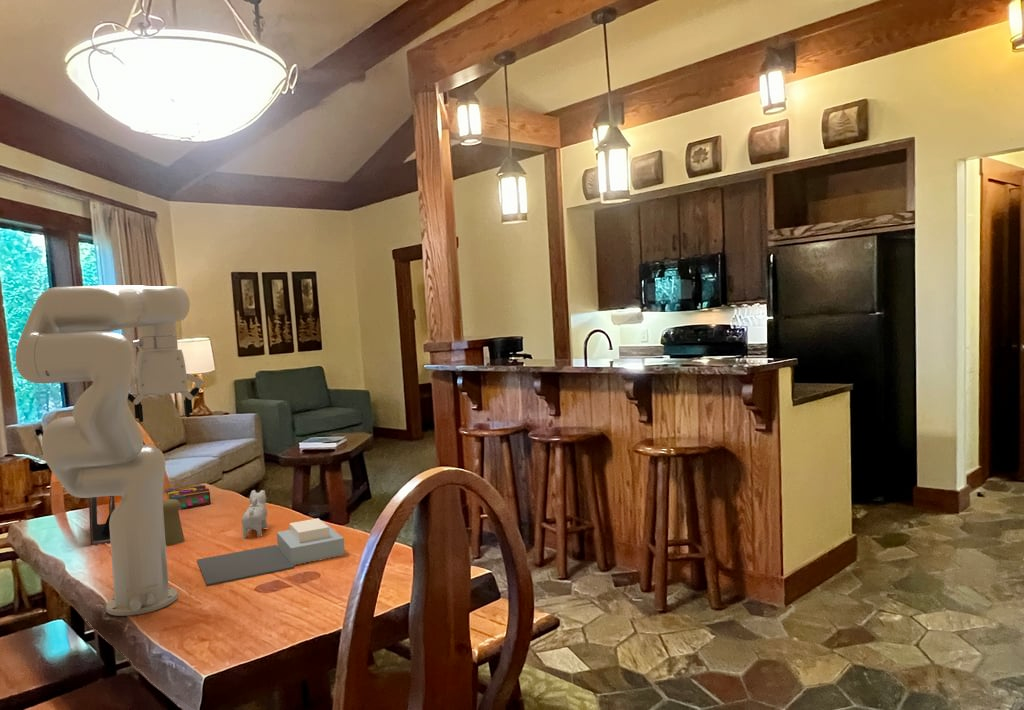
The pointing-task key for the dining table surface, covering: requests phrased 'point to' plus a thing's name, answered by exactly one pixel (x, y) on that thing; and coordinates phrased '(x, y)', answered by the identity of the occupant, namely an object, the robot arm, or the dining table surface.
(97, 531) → the letter holder
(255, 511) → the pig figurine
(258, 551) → the mat
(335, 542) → the block
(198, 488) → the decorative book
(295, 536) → the cream rounded box
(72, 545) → the dining table surface
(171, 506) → the olive green upright block
